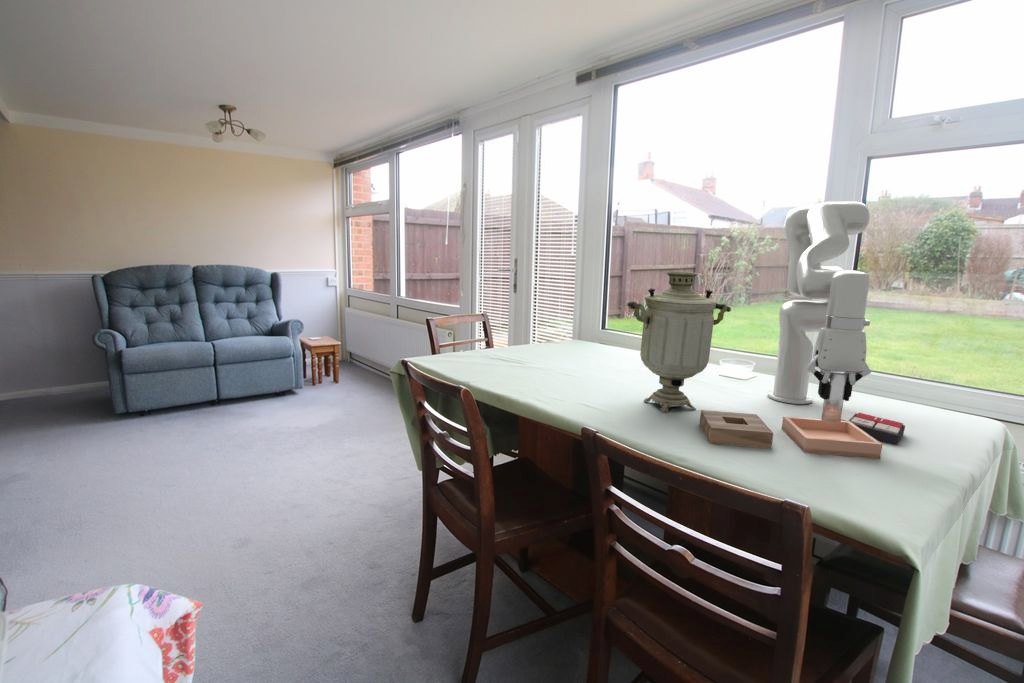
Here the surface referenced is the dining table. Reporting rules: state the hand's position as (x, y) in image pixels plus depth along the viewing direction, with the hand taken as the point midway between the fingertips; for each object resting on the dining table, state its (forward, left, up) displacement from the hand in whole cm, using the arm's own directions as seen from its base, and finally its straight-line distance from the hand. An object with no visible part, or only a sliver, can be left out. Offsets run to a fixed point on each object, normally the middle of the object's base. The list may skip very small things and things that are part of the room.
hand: (833, 398), depth 122 cm
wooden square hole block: (0, -22, -12) cm, 25 cm away
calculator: (-11, +13, -12) cm, 21 cm away
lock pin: (0, 0, -6) cm, 6 cm away
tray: (0, 0, -12) cm, 12 cm away
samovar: (-25, -35, -12) cm, 44 cm away
